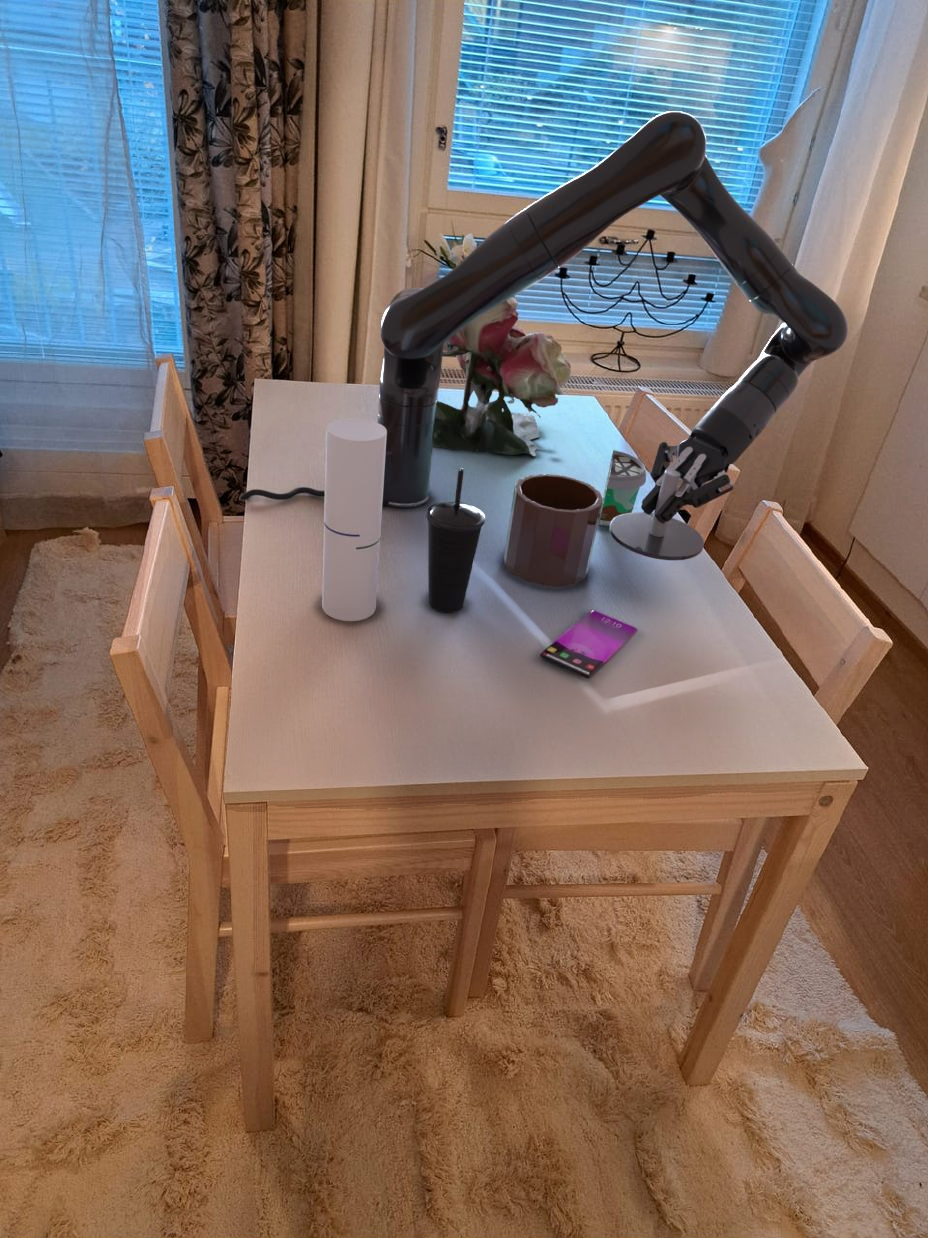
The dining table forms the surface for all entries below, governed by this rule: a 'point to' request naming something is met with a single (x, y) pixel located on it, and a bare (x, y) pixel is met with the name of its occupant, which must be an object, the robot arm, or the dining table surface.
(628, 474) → the food container
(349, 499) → the cylindrical container
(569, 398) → the dining table surface
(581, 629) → the smartphone
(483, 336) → the rose bouquet
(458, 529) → the drinking cup
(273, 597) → the dining table surface
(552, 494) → the brown cylindrical pot
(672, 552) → the lid
